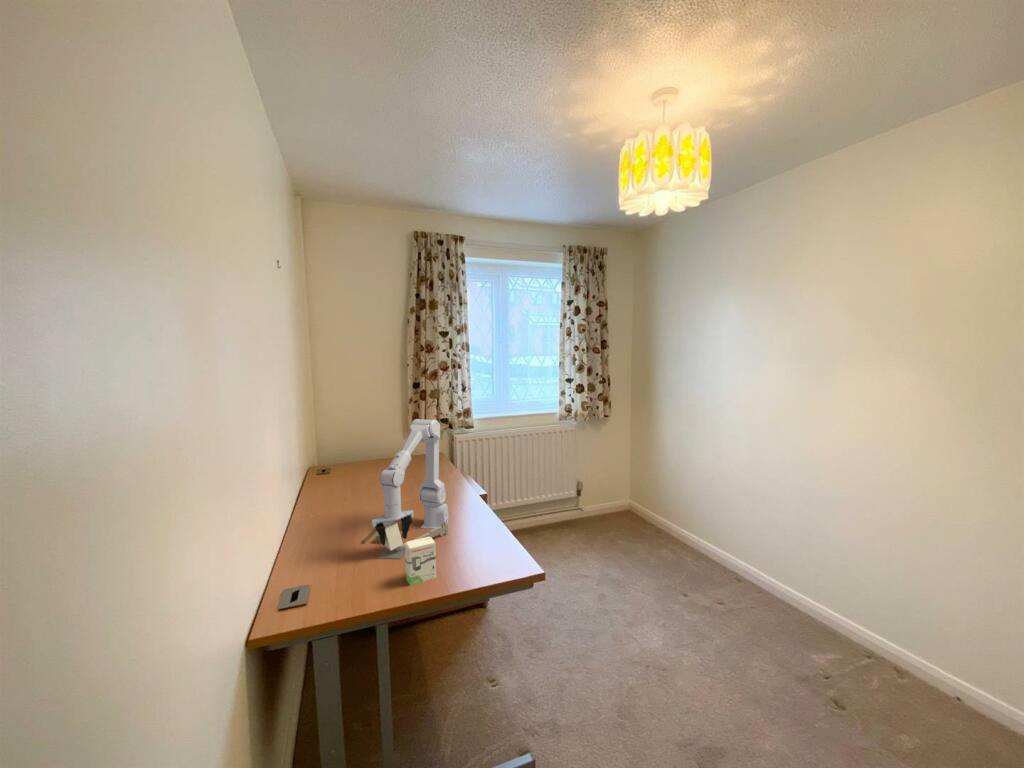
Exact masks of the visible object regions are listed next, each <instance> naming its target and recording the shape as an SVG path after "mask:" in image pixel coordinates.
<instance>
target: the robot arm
mask: <svg viewBox="0 0 1024 768" xmlns="http://www.w3.org/2000/svg"><path fill="white" fill-rule="evenodd" d="M409 429H410V430H409V431H410V433H409V435H408V438H407V439H406V442H405V444H404V446H403V447H402V449H401V450H399V451H397V452H396V453H395V456H394V457H393V459H392V460H391V461H390V463H389V466H388V467H387V468H385V469H383V470H382V472H381V473H380V476H379V478H378V481H379V483H380V485H381V490H382V491H383V506H384V507H383V510H384V514H383V515H380V516H378V517H376V518H372V519H371V526H372V527H373V528H375V529H376V530H377V531H376V532H377V534H379V536H380V540H381V544H380V545H382V546H385V527H384V525H383V523H387V522H391V521H395V522H396V521H398V520H400V522H401V523H402V530H401V536H402V537H403V539H404V540H405V539H407V537H408V532H409V531H408V529H409V526H411V524H412V523H413V517H415V516H414V515H415V514H414V512H415V511H414V510H413V509H410V510H402V496H401V495H402V493H401V492H402V491H401V488H402V487H401V485H402V484H403V483H404V480H405V474H406V470H407V467H408V466H409V465H410V462H411V461H412V456H411V454H412V453H413V452H414V450H415V449H416V447H417V446H418V444H419V443H420V441H421V440H424V442H425V480H424V481H423V482H422V483H420V489H419V491H418V499H419V500H420V502H421V504H422V505H423V520H424V521H423V522H424V523H423V524H422V525H421V527H420V529H431V530H433V529H435V528H437V527H439V526H442V523H443V524H444V522H446V524H447V525H448V522H449V505H448V504H447V503H444V502H445V500H446V498H447V493H446V485H445V483H444V482H443V481H442V480H440V478H439V477H440V476H439V475H440V474H439V473H440V439H441V423H439V421H438V420H437V419H421V418H420V419H419V418H415V419H414V420H413V421H412V422H411V424H410V428H409Z"/></svg>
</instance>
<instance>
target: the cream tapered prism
mask: <svg viewBox="0 0 1024 768" xmlns="http://www.w3.org/2000/svg"><path fill="white" fill-rule="evenodd" d="M396 522H397V521H396V520H395V521H391V522H387V523H383V525H384V527H385V545H384V546H385V548H388V549H390V550H393V549H395V548H397V547H399V546H401V545H403V544H404V543H403V539H401V536H402V534H401V532H400V531H401V530H399V528H398V524H397V523H396Z"/></svg>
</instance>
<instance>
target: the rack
mask: <svg viewBox="0 0 1024 768" xmlns="http://www.w3.org/2000/svg"><path fill="white" fill-rule="evenodd" d="M395 522H396V523H397V524H398V528H399V531H402V523H401V521H395ZM410 526H411V525H410ZM410 526H409V529H408V532H409V531H410V530H411V529H410V528H411V527H410ZM376 532H377V530H376V528H375V529H373V530H372V531H371V532H370V533H369V534H368V535H367V536H366V537H365V538H364V539H362V541H361V542H362V544H366V542H367V541H369V540H370V538H371V537H372V536H373V535H375V534H376ZM401 539H402V540H403V539H404V538H403V537H402V535H401Z"/></svg>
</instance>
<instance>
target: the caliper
mask: <svg viewBox="0 0 1024 768" xmlns="http://www.w3.org/2000/svg"><path fill="white" fill-rule="evenodd" d="M443 531H444V532H443ZM448 533H449V526H448V523H447V524H446V522H444V524H443V523H442V526H439V527H437V528H435V529H431V530H429V531H428V532H427V533H424V534H422V535H420V536H418V537H417V536H416V538H413V539H411V540H410V541H412V540H416V539H421V538H426V537H431V538H432V539H433V538H434V537H437V536H438V535H439V536H441V537H444V535H446V536H447V535H449V534H448ZM405 543H406V542H404V543H403V545H401V546H399V547H398V548H396V551H399V550H403V549H405Z"/></svg>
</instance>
